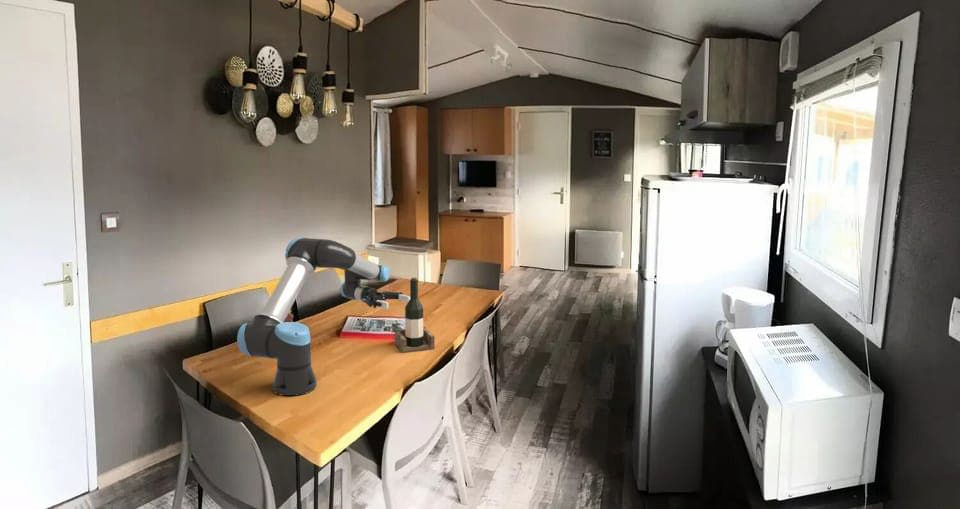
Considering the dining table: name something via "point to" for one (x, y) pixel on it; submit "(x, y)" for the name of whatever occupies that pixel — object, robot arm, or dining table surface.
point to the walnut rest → (402, 344)
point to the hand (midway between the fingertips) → (398, 302)
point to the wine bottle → (414, 317)
